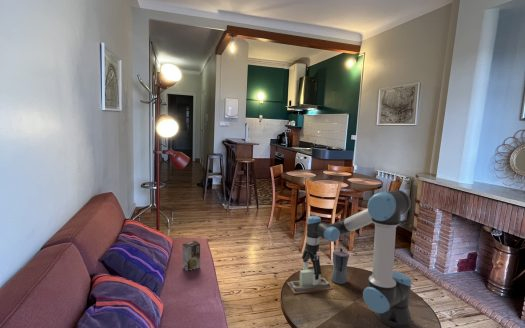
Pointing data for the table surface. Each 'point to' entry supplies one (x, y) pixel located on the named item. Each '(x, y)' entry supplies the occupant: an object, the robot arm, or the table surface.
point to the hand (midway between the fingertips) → (310, 278)
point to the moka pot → (339, 266)
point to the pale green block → (307, 277)
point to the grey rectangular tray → (309, 287)
